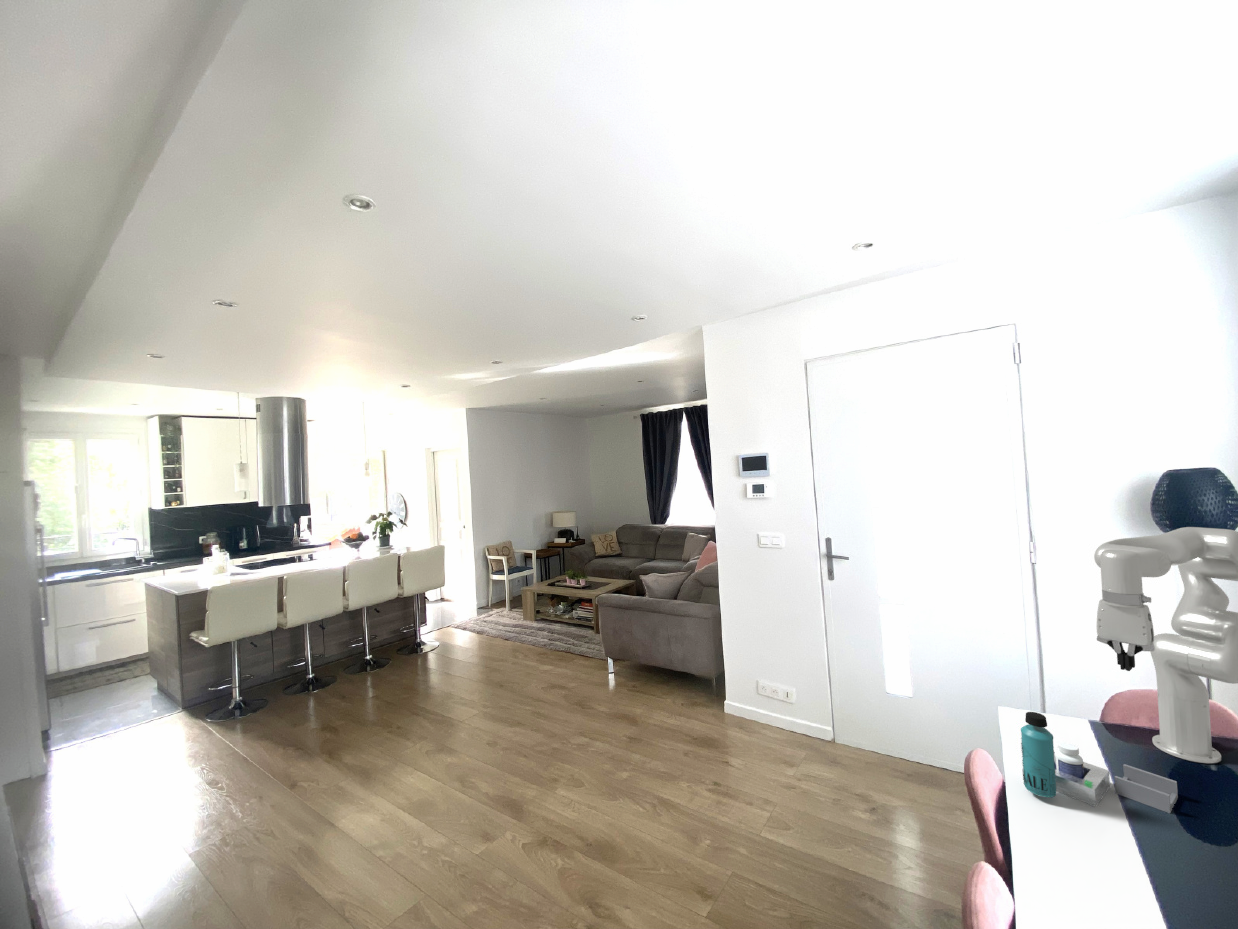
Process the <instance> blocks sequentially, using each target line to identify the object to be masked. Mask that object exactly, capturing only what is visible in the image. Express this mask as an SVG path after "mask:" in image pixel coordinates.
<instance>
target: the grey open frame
mask: <svg viewBox="0 0 1238 929" xmlns="http://www.w3.org/2000/svg"><path fill="white" fill-rule="evenodd" d="M1122 769H1123V770H1122V771H1123V772H1122V773H1123V777H1120V776H1117V775H1115V776H1114V789H1115V790H1114V791H1115V794H1116V795H1119V796H1121V797H1124V798H1128V799H1131V800H1132V801H1135V802H1137V803H1140V804H1141V803H1142V804H1144V805H1146V806H1148V807H1152V808H1155V809H1157V810H1159V811H1163V812H1165V813H1168V814H1171V812H1172V811H1173V809H1172V808H1174V807H1175V805H1174V804H1176V803H1177V800H1178V798H1179V796H1178V795H1179V794H1178V782H1177V781H1176V780H1173V779H1170V778H1169V777H1164V776H1161V775H1159V774H1156V773H1152V772H1150V771H1147V770H1143V769H1141V768H1137V767H1135V766H1132V765H1128V764H1125V763H1124V764H1123V765H1122Z"/></svg>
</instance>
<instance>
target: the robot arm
mask: <svg viewBox="0 0 1238 929" xmlns="http://www.w3.org/2000/svg"><path fill="white" fill-rule="evenodd" d="M1093 558H1094V561H1095V563H1096V565H1097V567H1099V569H1100V577H1101V578H1100V579H1101V580H1100V581H1101V598H1102V599H1100V600H1099V602H1098V605H1097V613H1096V635H1097V636H1096V641H1098V642H1100V643H1103V644H1105V645H1107V646H1109V647H1110V649H1112V650H1113V652H1115V653H1116V661H1117V662H1116V664H1117V665H1119V666H1120V670H1124V671H1127V672H1130V671H1131V670H1133V668H1135V667H1136V661H1135V660H1136V658H1135V656H1136V654H1139V653H1141V652H1150V656H1151V658H1152V661H1153V666H1154V669H1155V675H1156V676H1155V677H1156V688H1157V708H1158V725H1159V734H1156V735H1154V736H1152V744H1153V745H1154V746H1155V747H1156V748H1158V749H1159V750H1160V751H1162V752H1164V753H1167V754H1168V755H1170V756H1173V757H1176V758H1179V759H1182V760H1186V761H1190V762H1194V763H1200V764H1201V763H1202V764H1218V763H1220V762H1221V761H1222V754H1221V753H1220V752H1219V750H1217V749H1215V748H1214V747H1213V746H1212V733H1211V732H1212V731H1211V728H1212V727H1211V712H1210V695H1209V690H1208V688H1207V686H1206V684H1205V683H1204V682H1203V680H1202V678H1206V679H1209V680H1213V681H1217V682H1221V683H1226V684H1233V685H1234V684H1238V611H1237V612H1236V611H1231V610H1228V607H1229V605H1230V598H1229V596H1228V595H1227V593H1226V592H1225V591H1224V590H1223V589H1222V588H1221V587H1220V586H1219V585H1218V584H1216V583H1215V582H1214V581H1213V579H1216V580H1217V579H1218V580H1225V581H1232V582H1238V531H1237V530H1233V529H1229V528H1228V529H1226V528H1215V527H1214V528H1213V527H1201V526H1199V527H1198V526H1197V527H1196V526H1186V527H1180V528H1176V529H1173V530H1170V531H1168V532H1164V533H1161V534H1157V535H1145V536H1138V537H1136V536H1135V537H1126V538H1118V539H1113V540H1109V541H1107V542H1103V543H1101V544H1100V545H1099V546H1098V547H1097V548H1096V550H1095V551H1094V556H1093ZM1172 566H1177V568H1178V571H1179V574H1180V578H1181V581H1182V583H1183V588H1184V589H1183V594H1182V596H1181V598H1180V601H1179V602H1178V605H1177V606H1176V609H1175V610H1174V612H1173V615H1172V617H1171V619H1170V620H1171V621H1170V625H1171V629H1172V630H1173V631H1174V632H1175V633H1176V634H1175V633H1166V632H1165V633H1159V634H1156V635H1155V632H1154V625H1153V618H1152V615H1151V614H1152V613H1151V611H1150V608H1149V605H1148V604H1149V603H1150V604H1151V603H1152V597H1150V596H1147V595H1145V593H1144V589H1143V578H1159V577H1163V576H1164V575H1166V574H1167V573H1169V572H1170V570H1171V567H1172ZM1145 603H1148V604H1145ZM1123 644H1128V645H1127V651H1126V650H1125V649H1124V645H1123ZM1200 677H1201V678H1200Z"/></svg>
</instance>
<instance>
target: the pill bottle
mask: <svg viewBox="0 0 1238 929" xmlns="http://www.w3.org/2000/svg"><path fill="white" fill-rule="evenodd" d="M1054 752H1055V766H1056V770H1058V771H1061V772H1064V773H1067V774H1069V775H1072V776H1075V777H1077V778H1080V779H1083V778H1084V766H1083V762H1084V759H1083V758H1082V756H1081V755H1080V749H1079V747H1078V746H1077V745H1076V744H1073V743H1071V742H1067V741H1059V742H1057V750H1055V751H1054Z"/></svg>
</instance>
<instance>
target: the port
mask: <svg viewBox="0 0 1238 929" xmlns="http://www.w3.org/2000/svg"><path fill="white" fill-rule="evenodd" d="M1055 752H1056V751H1054V765H1055ZM1083 766H1084V778H1083V779H1080V778H1077V777H1075V776H1072V775H1069V774H1067V773H1064V772H1061V771H1058V770H1056V766H1055V774H1056V776H1055V777H1056V793H1057V792H1058V793H1060V794H1062V795H1065V796H1068V797H1070V798H1072V799H1075V800H1077V801H1080V802H1081V803H1082V802H1083V803H1085V804H1088V805H1091V806H1092V807H1097V806H1098V804H1099V802H1100V801H1101V800H1102V799H1103V797H1104V796H1105V795H1106V793H1107V792H1106V791H1108V790H1109V789H1110V787H1111V782H1110V781H1111V780H1110V770H1108V769H1105V768H1103V767H1100V766H1097V765H1094V764H1091V763H1088V762H1085V761H1083ZM1101 798H1102V799H1101Z"/></svg>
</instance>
